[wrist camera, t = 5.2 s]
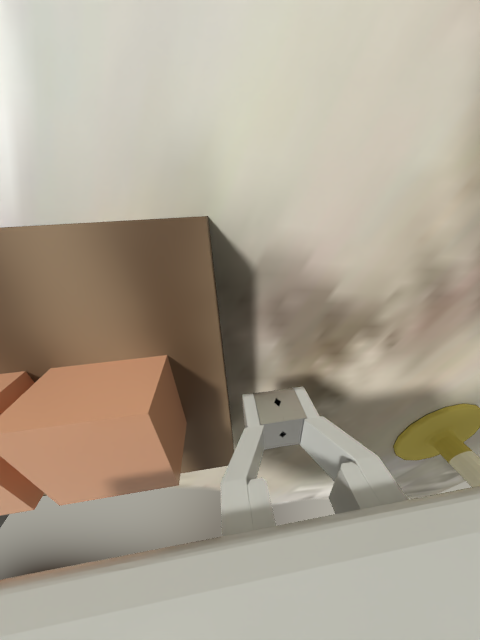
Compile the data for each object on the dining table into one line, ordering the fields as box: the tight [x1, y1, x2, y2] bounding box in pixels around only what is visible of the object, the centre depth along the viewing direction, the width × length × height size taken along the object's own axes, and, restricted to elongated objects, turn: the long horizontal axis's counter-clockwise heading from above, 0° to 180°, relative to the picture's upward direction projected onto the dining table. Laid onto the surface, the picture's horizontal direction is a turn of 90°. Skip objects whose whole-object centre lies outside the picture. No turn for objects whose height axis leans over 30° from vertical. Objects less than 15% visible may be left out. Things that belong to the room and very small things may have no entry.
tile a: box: [0, 355, 187, 505], centre depth 9 cm, size 5×5×3 cm
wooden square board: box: [0, 216, 234, 496], centre depth 11 cm, size 16×16×3 cm
